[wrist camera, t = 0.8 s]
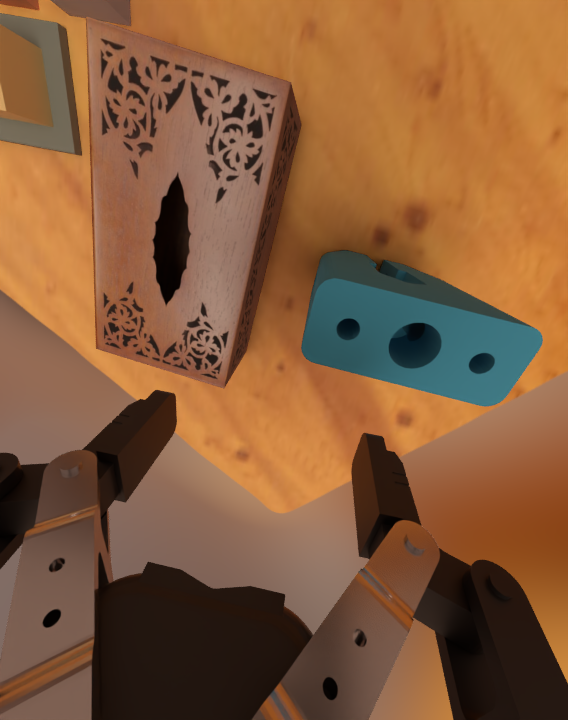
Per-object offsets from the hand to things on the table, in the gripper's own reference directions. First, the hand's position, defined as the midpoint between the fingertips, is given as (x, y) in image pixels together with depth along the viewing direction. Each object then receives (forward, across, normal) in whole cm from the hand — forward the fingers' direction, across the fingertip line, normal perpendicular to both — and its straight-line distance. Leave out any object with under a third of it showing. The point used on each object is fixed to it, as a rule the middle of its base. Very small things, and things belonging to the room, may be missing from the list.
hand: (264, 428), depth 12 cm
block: (+26, -7, -2) cm, 27 cm away
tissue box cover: (+26, +12, -4) cm, 29 cm away
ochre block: (+25, +32, -15) cm, 43 cm away
